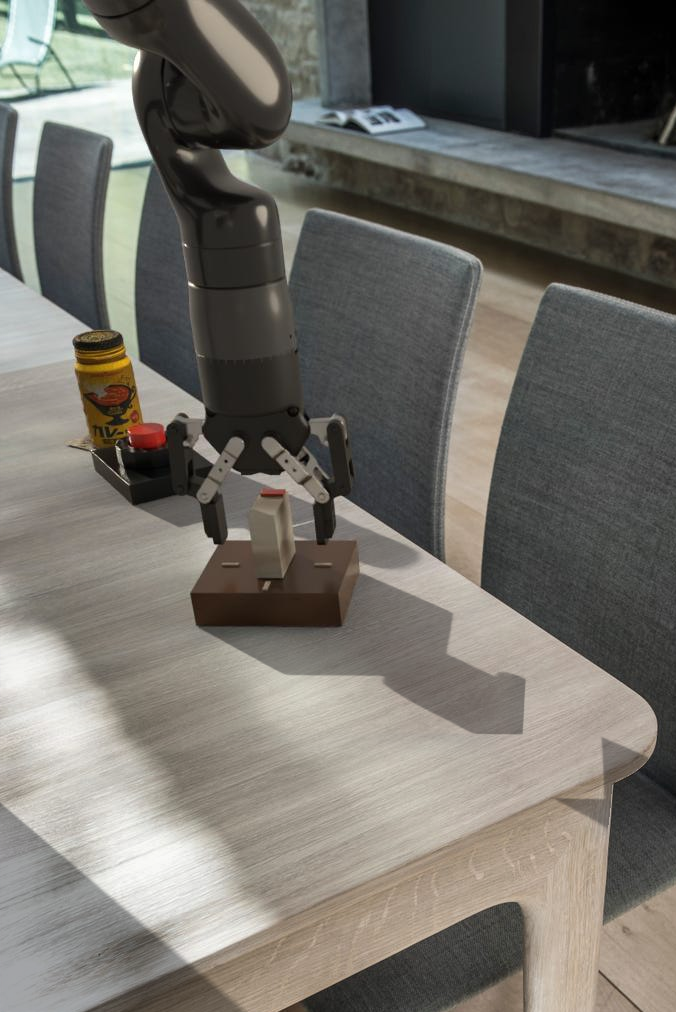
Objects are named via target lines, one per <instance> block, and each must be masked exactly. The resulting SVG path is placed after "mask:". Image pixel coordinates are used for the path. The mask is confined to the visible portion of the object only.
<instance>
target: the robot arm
mask: <svg viewBox="0 0 676 1012" xmlns="http://www.w3.org/2000/svg"><path fill="white" fill-rule="evenodd" d="M80 1H81V2H82V4H83V5H84V6H85V8H86V9H87V10H88V12H89V14H90V15H91V16H92V17H93V19H94V21H96V22H97V24H98V25H99V26H100V28H102V29H103V30H104V31H105V33H106V34H107V35H108V36H110V37H111V38H112V39H113V40H115V41H116V42H118V43H119V44H122V45H124V46H126V47H128V48H132V49H136V50H137V52H136V55H135V56H134V57H135V58H134V61H133V65H132V70H131V71H132V72H131V95H132V103H133V107H134V112H135V117H136V119H137V122H138V123H137V124H138V125H139V128H140V131H141V134H142V136H143V139H144V141H145V144H146V146H147V149H148V151H149V154H150V156H151V158H152V161H153V164H154V166H155V168H156V171H157V173H158V175H159V178H160V180H161V183H162V185H163V187H164V190H165V193H166V196H167V198H168V200H169V202H170V204H171V207H172V209H173V211H174V214H175V216H176V219H177V222H178V225H179V230H180V239H181V246H182V247H181V248H182V253H183V259H184V265H185V272H186V278H187V284H188V285H187V286H188V303H189V304H188V306H189V319H190V326H191V330H192V333H191V334H192V338H193V339H192V340H193V344H194V345H193V346H194V350H195V357H196V363H197V370H198V375H199V383H200V389H201V395H202V401H203V402H202V403H203V406H204V413H205V414H204V418H190V417H189V415H188V414H186V413H185V412H178V413H177V414H175V416H174V417H173V418H172V419H171V420H170V422H169V423H168V424H167V425H166V427H165V431H166V433H167V442H168V450H169V459H170V467H171V476H172V484H173V490H174V492H175V493H176V494H177V495H176V496H180V497H184V496H189V497H191V498H194V499H196V500H197V502H198V503H199V506H200V513H201V519H202V525H203V531H204V534H205V535H206V537H207V538H208V539H212V543H213V545H216V546H218V545H223V544H224V543H225V541H226V540H228V536H229V529H228V523H227V517H226V510H225V509H226V508H225V503H224V497H223V493H219V488H220V487H221V485H222V484H223V482H224V481H225V479H226V478H227V476H228V474H229V473H230V471H231V470H234V471H236V472H237V473H240V476H253V475H257V474H263V475H268V476H281V475H282V474H283V473H284V472H286V473H287V475H288V476H290V478H291V479H292V480H293V481H294V482H295V483H296V484H297V485H299V486H302V487H303V488H304V489H305V490H306V492H307V493H308V494H309V495H310V496H311V497H312V498H313V499H314V500H313V502H312V511H313V512H312V513H313V520H314V529H315V530H314V531H315V540H317V545H327V543H328V540H330V539H331V540H332V539H333V536H334V534H335V532H336V529H337V517H336V508H335V498H338V497H340V496H341V497H348V496H349V495H350V494H351V493H352V490H353V486H354V484H355V482H356V480H357V479H356V478H357V477H356V471H355V465H354V458H353V451H352V444H351V438H350V432H349V425H348V419H347V416H346V415H345V414H344V413H343V412H341V411H340V412H339V411H337V412H334V413H333V414H332V416H331V417H317V418H316V417H315V418H311V417H310V415H309V414H308V412H307V410H306V408H305V407H306V406H305V401H304V394H303V393H304V392H303V384H302V376H301V375H302V374H301V367H300V357H299V348H298V339H297V336H298V327H297V321H296V320H295V313H294V306H293V301H292V297H291V292H290V288H289V284H288V280H287V274H286V273H287V272H286V271H287V270H286V264H285V253H284V246H283V237H282V227H281V219H280V213H279V208H278V205H277V201H276V200H275V198H274V197H273V196H272V194H270V193H269V192H268V191H266V189H265V190H264V189H263V188H260V187H259V186H258V187H257V186H255V185H252V184H250V183H247V182H245V181H242V180H241V179H238V178H237V177H236V176H235V175H233V173H232V172H231V170H230V168H229V167H228V165H227V162H226V160H225V158H224V156H223V153H222V151H221V150H225V151H227V150H228V151H245V152H247V151H257V150H262V149H265V148H268V147H271V146H272V145H273V144H275V143H276V142H277V141H279V139H281V137H282V136H283V135H284V133H285V132H286V130H287V129H288V126H289V123H290V121H291V117H292V113H293V102H294V101H293V98H294V97H293V96H294V95H293V87H292V82H291V77H290V73H289V69H288V67H287V64H286V61H285V59H284V57H283V55H282V53H281V51H280V49H279V46H277V44H276V42H275V41H274V39H273V38H272V36H271V35H270V33H269V32H268V31H267V29H266V28H265V26H264V25H262V23H261V22H260V21H259V20H258V18H257V17H255V15H254V14H253V13H252V12H251V11H250V10H249V9H248V8H247V7H246V6H245V5H244V4H243V3H242V2H241V1H240V0H80ZM201 435H203V437H204V439H205V440H206V442H207V443H208V444H210V446H211V447H212V448H213V449H214V450H215V451H216V452H217V453H218V455H219V457H218V458H217V460H216V461H215V463H214V464H213V465H214V466H213V468H212V469H211V471H210V473H209V474H208V476H207V478H206V479H205V478H202V477H199V476H196V474H195V464H194V455H193V450H194V446H195V445H196V444H197V443H198V441H199V440H200V439H199V438H200V436H201ZM311 435H315V436H316V437H317V438H318V439H319V442H320V444H321V445H322V446H323V447H325V448H328V450H329V455H330V462H331V467H332V473H333V476H332V477H330V476H329V475H328V474H327V473H326V472H325V471H324V470H323V469H322V467H321V466H320V465H319V463H318V460H317V458H316V457H315V456H314V455H313V453H311V451H310V450H309V449H308V448H307V447H306V446H305V445H306V443H307V441H308V440H309V438H310V436H311Z"/></svg>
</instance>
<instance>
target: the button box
mask: <svg viewBox="0 0 676 1012" xmlns="http://www.w3.org/2000/svg"><path fill="white" fill-rule="evenodd" d="M164 431H165V437H166V442H167V433H166V430H164ZM90 454H91V459H92V463H93V467H94V471H95V472H96V473H97V474H99V476H101V478H103V479H104V481H106V482H107V483H108V484H109V485H110V486H111V487H112V488H113V489H115V491H117V492H118V493H119V494H120V495H121V496H122V497H123V498H124V499H125V500H126V501H127V502H129V504H131V505H132V506H138V505H142V504H146V503H150V502H155V501H159V500H162V499H166V498H170V497H175V496H178V495H177V494H176V493H175V492H174V490H173V484H172V476H171V467H170V459H169V450H168V442H167V443H165V444H163V445H161V446H156V447H152V448H134V447H131V444H130V439H129V435H127V436H125V437H123V438H121V439H119V440H118V441H117V443H116V445H115V446H111V447H107V448H102V449H97V450H93V451H90ZM193 455H194V464H195V474H196V476H199V477H202V478H205V479H206V478H207V476H208V474H209V473H210V471H211V469H212V468H213V466H214V465H215V464H214V463H212V462H211V461H210V460H209V459H207V458H205V457H204V456H203V455H202V454H200V453H199V452H198V451H196V450H195V449H193Z"/></svg>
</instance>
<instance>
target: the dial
mask: <svg viewBox="0 0 676 1012" xmlns="http://www.w3.org/2000/svg"><path fill="white" fill-rule="evenodd" d="M291 511H292V510H291V503H290V495H289V491H288V490H286V488H281V489H280V488H262V490H261V492H260V493H259V495H258V497H257V499H256V500H255V502H254V504H253V505H252V507H251V509H250V510H249V512H248V514H247V522H248V523H247V524H248V529H249V535H250V540H251V543H252V550H253V556H254V563H255V570H256V577H257V578H283V577H284V575H285V573H286V571H287V569H288V567H289V565H290V563H291V560H292V558H293V556H294V554H295V552H296V550H295V542H294V540H295V535H294V528H293V527H294V526H293V519H292V518H293V517H292V512H291Z"/></svg>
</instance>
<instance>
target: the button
mask: <svg viewBox="0 0 676 1012" xmlns="http://www.w3.org/2000/svg"><path fill="white" fill-rule="evenodd" d="M165 431H166V430H165V426H164V425H163V424H161V423H158V422H143V423H142V424H138V425H135V426H132V427H130V428H129V429H128V434H129V439H130V444H131V447H134V448H152V447H156V446H161V445H163V444H165V443H167V442H166V437H165Z"/></svg>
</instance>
